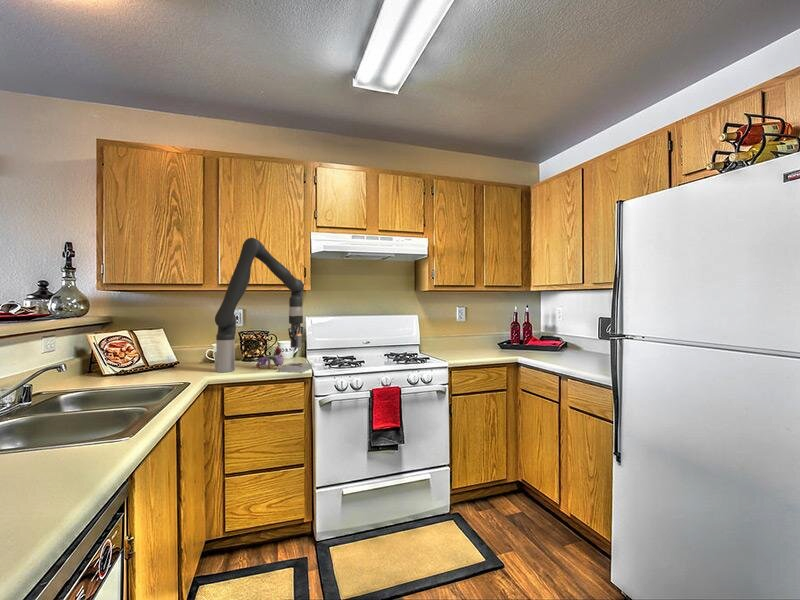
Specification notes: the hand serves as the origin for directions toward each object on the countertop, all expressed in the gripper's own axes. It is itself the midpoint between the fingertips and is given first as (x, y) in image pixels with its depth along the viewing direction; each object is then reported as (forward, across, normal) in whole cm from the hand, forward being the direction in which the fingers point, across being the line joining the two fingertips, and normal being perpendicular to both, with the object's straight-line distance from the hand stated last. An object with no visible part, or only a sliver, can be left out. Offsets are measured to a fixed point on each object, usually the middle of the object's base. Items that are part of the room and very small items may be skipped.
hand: (296, 345), depth 213 cm
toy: (+14, -9, -19) cm, 25 cm away
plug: (+1, 0, 0) cm, 1 cm away
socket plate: (+14, 0, 0) cm, 14 cm away
